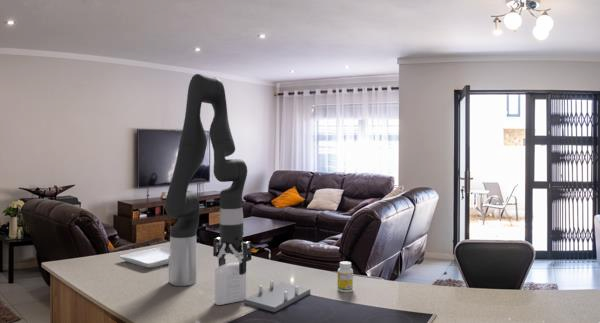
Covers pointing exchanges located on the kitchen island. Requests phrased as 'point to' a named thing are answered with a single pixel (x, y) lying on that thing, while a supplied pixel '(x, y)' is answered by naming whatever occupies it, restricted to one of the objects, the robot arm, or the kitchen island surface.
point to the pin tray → (276, 296)
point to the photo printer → (229, 284)
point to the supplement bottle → (345, 277)
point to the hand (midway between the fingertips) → (232, 272)
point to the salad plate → (149, 257)
